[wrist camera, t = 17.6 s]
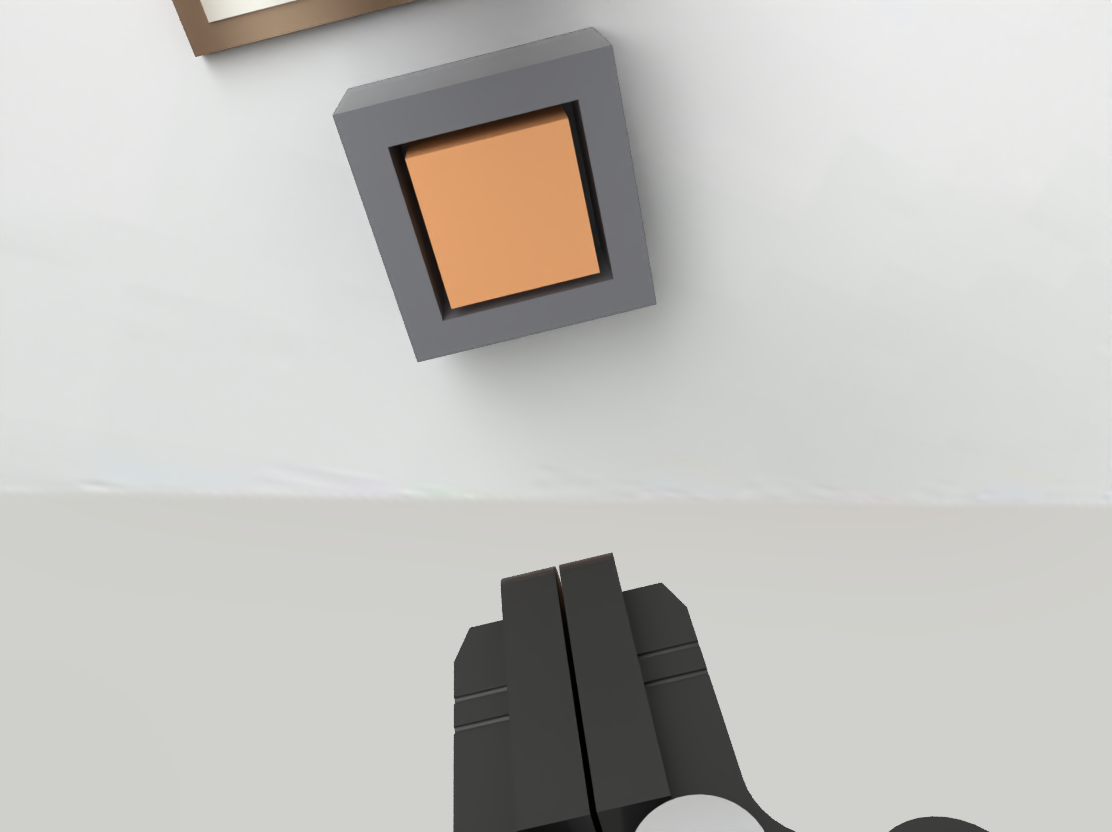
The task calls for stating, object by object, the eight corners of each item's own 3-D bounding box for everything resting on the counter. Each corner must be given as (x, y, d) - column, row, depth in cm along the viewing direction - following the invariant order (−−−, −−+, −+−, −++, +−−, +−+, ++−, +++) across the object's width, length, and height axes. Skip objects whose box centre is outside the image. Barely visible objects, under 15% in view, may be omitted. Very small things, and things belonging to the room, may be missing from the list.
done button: (452, 274, 30) (451, 309, 27) (410, 135, 27) (405, 159, 25) (587, 240, 30) (600, 272, 27) (557, 98, 27) (568, 118, 25)
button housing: (421, 312, 32) (417, 362, 28) (348, 89, 27) (332, 115, 24) (634, 260, 31) (656, 304, 28) (592, 26, 27) (611, 44, 24)
